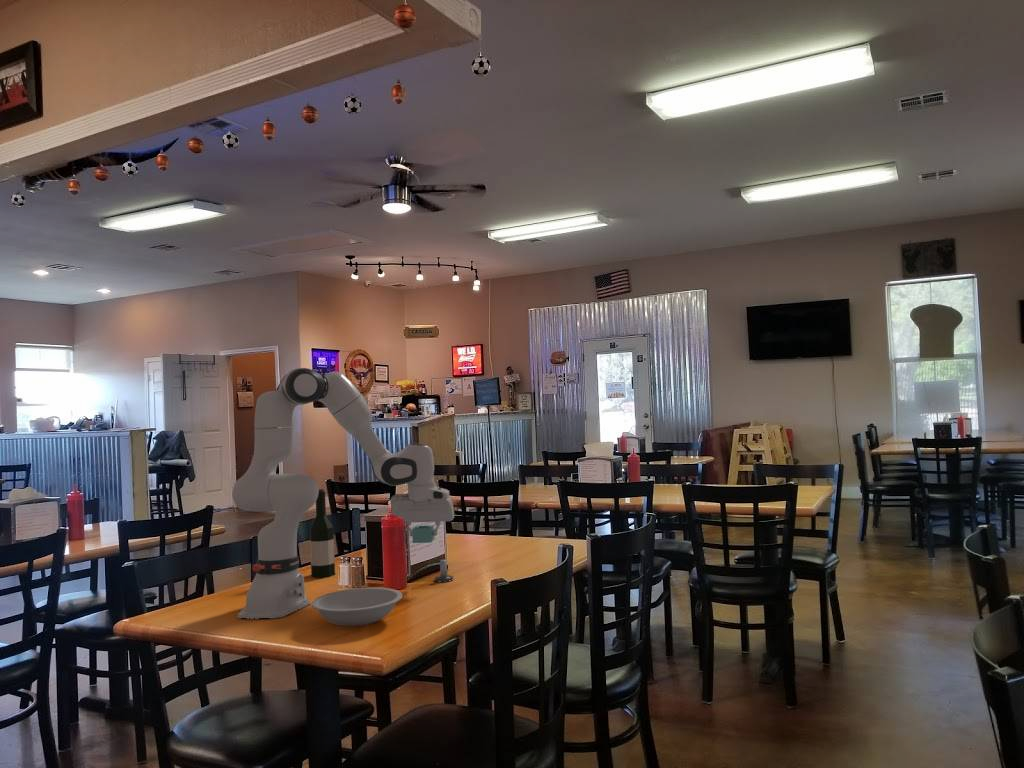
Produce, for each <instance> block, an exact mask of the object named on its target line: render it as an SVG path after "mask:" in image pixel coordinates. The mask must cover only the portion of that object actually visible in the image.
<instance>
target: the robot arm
mask: <svg viewBox="0 0 1024 768" xmlns="http://www.w3.org/2000/svg"><path fill="white" fill-rule="evenodd" d="M315 401H318V402H320V403H322V404H323V405H324V406H325V407H326V408H327V410H328V412H329V413H330V414H331V415H332V417H333V418H334V419H335V421H337V423H338V424H339V426H340V427H341V428H343V429H344V430H345V431H346V432H347V433H348V434H349V435H351V436H352V437H353V438H354V439H355V441H356V442H357V443H358V445H359V446H360V447H361V449H362V450H363V451H364V453H365V454H366V456H367V458H368V459H369V461H370V465H371V470H372V474H373V476H374V478H375V479H376V480H377V481H378V482H380V483H382V484H387V485H389V486H393V487H394V486H395V487H396V486H400V485H404V484H406V483H407V493H395V494H394V495H392V496H391V498H390V506H391V515H395V516H399V517H402V518H403V520H404V521H405V522H406V523H407V524H408V526H410V527H411V525H412V523H434V524H435V525H434V526H436V527H434V529H433V530H432V536H435V537H437V536H438V533H439V528H440V525H442V524H441V523H442V522H451V521H453V520H454V519H455V509H454V504H453V500H452V499H451V498H450V490H448V489H446V488H442V487H439V486H436V482H435V477H434V474H435V461H434V459H435V457H434V453H433V450H432V447H430V446H429V445H427V444H423V443H414V442H411V443H409V444H407V445H406V446H405V447H403V448H402V449H401V450H400V451H397V452H395V453H392V452H391V451H390V450H389V449H387V448H386V447H385V445H384V443H383V442H382V440H381V439H380V438H379V436H378V435H377V434H376V432H375V430H374V429H373V426H372V411H371V409H370V407H369V405H368V402H367V401H366V399H365V398H364V397H363V395H362V393H361V392H360V391H359V389H358V388H357V387H356V385H354V383H353V382H352V381H351V380H350V379H349V378H348V377H347V376H346V375H345V374H344V373H342V372H340V371H331V372H328V373H326V374H325V375H324V374H322V373H321V372H320V373H319V372H317V371H316V370H313V369H310V368H306V367H299V368H298V367H297V368H293V369H291V370H290V371H289V372H287V373H286V374H285V375H284V376H283V377H282V378H281V381H280V382H279V384H278V385H277V388H276V390H270V391H267V392H266V391H265V392H264V393H261V395H259V396H258V397H257V400H256V404H255V411H254V424H253V425H254V447H253V448H254V450H253V457H252V460H251V463H250V465H249V467H248V469H247V470H246V472H245V473H244V474H243V475H242V476H241V477H240V478H238V479H237V480H236V482H235V484H233V488H232V492H231V497H232V501H233V502H234V503H233V504H235V506H236V507H237V508H238V509H239V510H244V511H248V512H249V511H250V512H275V515H274V519H273V521H271V522H270V523H267V524H265V526H263V527H262V528H261V529H260V530H259V532H258V535H257V552H258V553H257V554H258V556H257V557H258V558H257V559H256V563H254V564H253V565H252V570H253V571H252V572H255V576H254V578H253V580H252V582H251V584H250V587H249V589H248V590H247V593H246V597H245V604H246V605H244V607H243V608H242V609H241V610H240V611H239V612H238V613H237V617H239V618H238V619H241V618H247V619H246V620H260V619H259V618H270V619H278V617H279V618H285V617H286V615H287V616H288V614H289V615H291V614H293V613H295V612H297V611H299V610H301V609H303V608H305V607H306V606H308V605H311V600H310V599H307V597H306V596H307V595H306V586H305V578H304V575H303V574H302V573H301V572H300V570H299V567H300V559H299V555H298V549H297V548H298V547H297V546H298V544H297V543H298V529H299V525H300V522H301V520H302V518H303V517H304V515H305V514H306V512H307V511H308V510H310V509H311V508H312V507H313V506H314V505H315V504H316V500H317V498H318V494H319V489H320V488H319V485H318V483H317V480H315V478H314V477H313V476H312V475H309V474H303V473H277V469H278V466H279V464H280V463H282V462H285V460H287V459H289V458H290V456H291V455H292V454H293V453H294V429H293V428H294V426H293V424H294V423H293V414H294V410H295V409H296V407H297V406H303V405H307V404H309V403H313V402H315ZM406 523H405V524H406ZM410 527H409V530H408V532H409V537H412V529H413V528H412V527H411V528H410ZM298 609H299V610H298ZM294 611H295V612H294ZM292 612H293V613H292ZM290 613H291V614H290ZM249 618H250V619H249ZM254 618H255V619H254Z"/></svg>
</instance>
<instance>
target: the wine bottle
mask: <svg viewBox="0 0 1024 768" xmlns="http://www.w3.org/2000/svg"><path fill="white" fill-rule="evenodd" d="M318 489H319V494H318V498H317V500H316V502H315V517H314V520H313V521H312V523H311V525H310V527H309V544H310V545H309V546H310V570H311V571H310V572H311V573H310V574H311V578H315V579H323V578H330V577H333V576H335V575H336V567H335V566H336V565H335V564H336V563H335V562H336V561H335V538H334V537H335V536H334V534H335V533H334V532H335V531H334V525H332V523H331V521H330V520H329V517H327V512H326V511H327V510H326V508H327V507H326V491H325V490H324V489H323V488H318Z"/></svg>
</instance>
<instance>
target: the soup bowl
mask: <svg viewBox="0 0 1024 768" xmlns="http://www.w3.org/2000/svg"><path fill="white" fill-rule="evenodd" d="M402 598H403V593H402V592H401V591H399V590H397V589H394V588H389V587H388V588H387V587H358V588H356V587H355V588H348V589H343V590H338V591H333V592H328V593H325V594H322V595H319V596H318V597H316V598H315V599H313V600H312V602H310V605H311V607H312V608H313V609H315V610H317V611H318V613H319V614H320V615H321V616H322V617H323V618H324V619H325V620H327V622H329V623H332V624H334V625H339V626H341V627H342V626H343V627H345V626H346V627H355V626H357V627H358V626H359V627H360V626H365V625H370V624H372V623H375V622H378V621H380V620H382V619H384V618H385V617H387V616H388V615H389V614H390V613H391V612H392V611H393V609H394V608H395V607H396V605H397V603H398V602H400V600H402Z"/></svg>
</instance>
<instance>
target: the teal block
mask: <svg viewBox="0 0 1024 768" xmlns="http://www.w3.org/2000/svg"><path fill="white" fill-rule="evenodd" d="M433 529H435V525H434V524H426V525H423V524H422V525H415V526H414V527H413V528H412V536H411V537H412V544H427V543H429V544H430V543H432V542H433V541H434V540H435V538H436V536H432V530H433Z"/></svg>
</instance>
